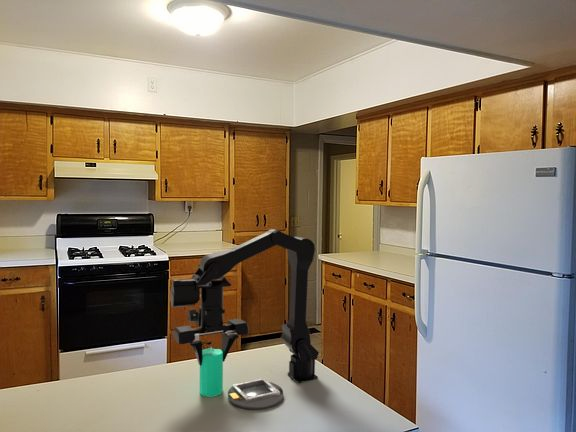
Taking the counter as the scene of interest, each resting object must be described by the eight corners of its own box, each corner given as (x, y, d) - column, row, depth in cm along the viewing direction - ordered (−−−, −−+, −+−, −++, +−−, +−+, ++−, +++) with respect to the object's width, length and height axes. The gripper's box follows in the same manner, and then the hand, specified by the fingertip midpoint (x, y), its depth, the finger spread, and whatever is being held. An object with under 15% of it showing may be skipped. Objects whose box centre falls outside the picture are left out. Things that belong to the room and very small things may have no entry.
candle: (218, 397, 112) (218, 351, 112) (195, 395, 113) (196, 349, 113) (226, 387, 118) (226, 343, 117) (204, 385, 119) (205, 341, 119)
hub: (267, 381, 123) (267, 373, 123) (292, 402, 111) (293, 393, 110) (219, 391, 116) (219, 383, 116) (241, 415, 104) (241, 406, 104)
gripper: (233, 293, 126) (233, 347, 127) (167, 300, 117) (167, 358, 118) (250, 302, 116) (249, 360, 117) (179, 311, 107) (179, 374, 108)
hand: (211, 363), depth 115 cm, fingers closed on candle, 6 cm apart
